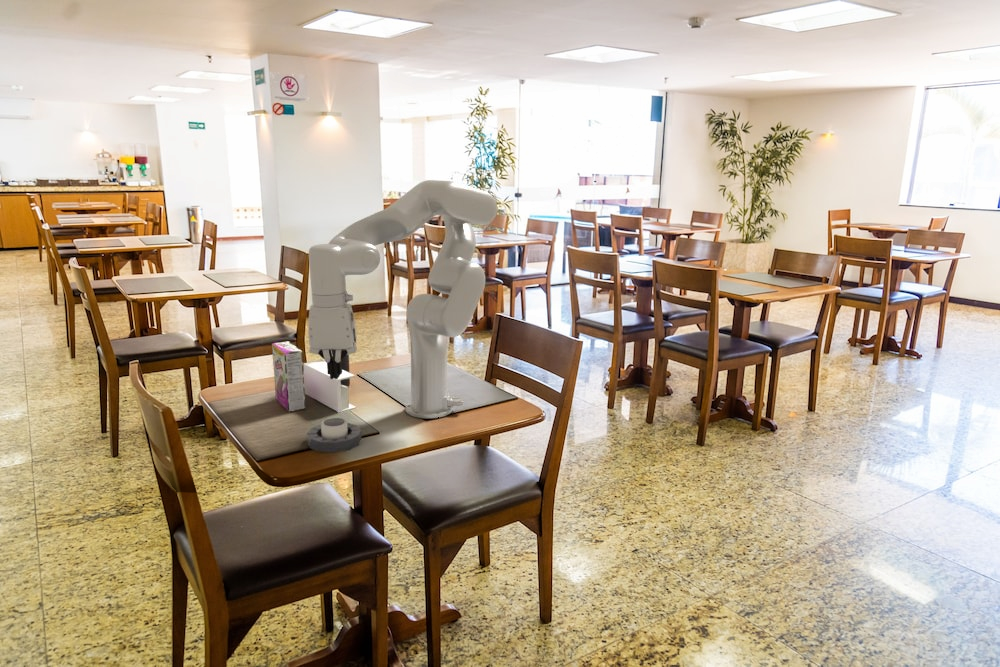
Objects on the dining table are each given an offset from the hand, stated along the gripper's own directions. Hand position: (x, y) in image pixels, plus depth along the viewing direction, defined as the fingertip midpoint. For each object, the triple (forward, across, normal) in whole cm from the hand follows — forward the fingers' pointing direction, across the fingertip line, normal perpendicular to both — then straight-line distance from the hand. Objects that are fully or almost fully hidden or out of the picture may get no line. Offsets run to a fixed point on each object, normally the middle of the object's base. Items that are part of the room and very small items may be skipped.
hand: (335, 376), depth 155 cm
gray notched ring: (+16, +1, +1) cm, 16 cm away
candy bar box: (+16, +19, -23) cm, 34 cm away
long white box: (+17, +10, -27) cm, 33 cm away
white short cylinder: (+16, +1, +1) cm, 16 cm away
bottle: (+17, +10, -40) cm, 45 cm away
